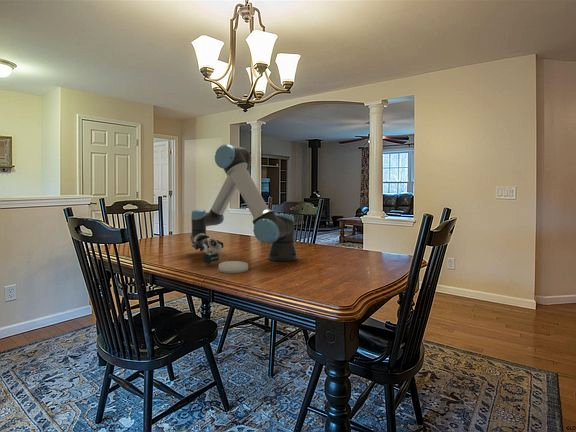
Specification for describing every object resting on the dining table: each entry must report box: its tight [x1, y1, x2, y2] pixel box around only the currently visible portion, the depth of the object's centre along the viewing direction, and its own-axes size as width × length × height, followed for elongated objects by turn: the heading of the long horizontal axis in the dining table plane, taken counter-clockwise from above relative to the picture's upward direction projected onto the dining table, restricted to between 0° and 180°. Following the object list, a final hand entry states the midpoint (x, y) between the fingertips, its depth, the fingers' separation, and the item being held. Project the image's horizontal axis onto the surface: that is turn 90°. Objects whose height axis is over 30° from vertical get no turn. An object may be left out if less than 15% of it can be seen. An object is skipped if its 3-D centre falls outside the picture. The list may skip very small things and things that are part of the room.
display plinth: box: [218, 260, 249, 274], centre depth 164 cm, size 13×13×2 cm
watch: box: [202, 237, 220, 264], centre depth 171 cm, size 6×8×11 cm
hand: (213, 248), depth 166 cm, fingers closed on watch, 6 cm apart
